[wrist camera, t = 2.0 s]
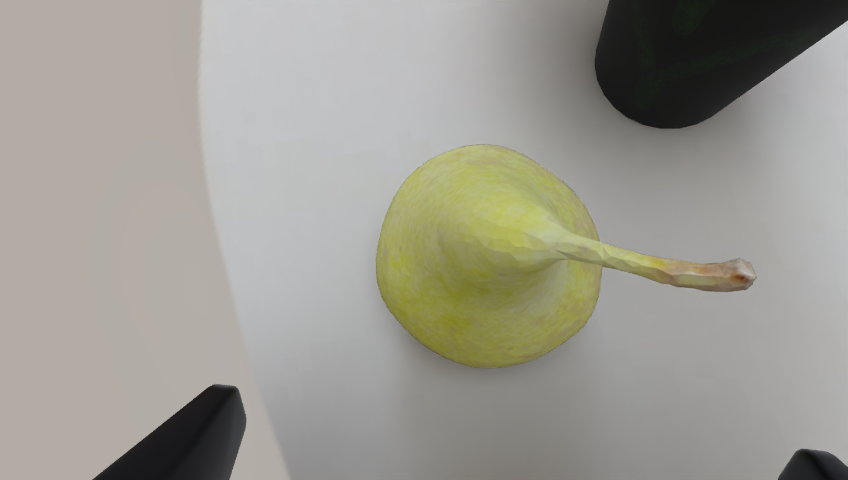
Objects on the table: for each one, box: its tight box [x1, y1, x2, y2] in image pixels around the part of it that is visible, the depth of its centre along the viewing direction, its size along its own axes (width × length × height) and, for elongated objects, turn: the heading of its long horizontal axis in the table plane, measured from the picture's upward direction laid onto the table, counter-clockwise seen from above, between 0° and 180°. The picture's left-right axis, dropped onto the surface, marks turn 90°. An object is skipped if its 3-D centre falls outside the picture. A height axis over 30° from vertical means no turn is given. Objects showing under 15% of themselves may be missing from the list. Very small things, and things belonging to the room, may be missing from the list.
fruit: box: [376, 145, 757, 368], centre depth 14 cm, size 7×8×12 cm
